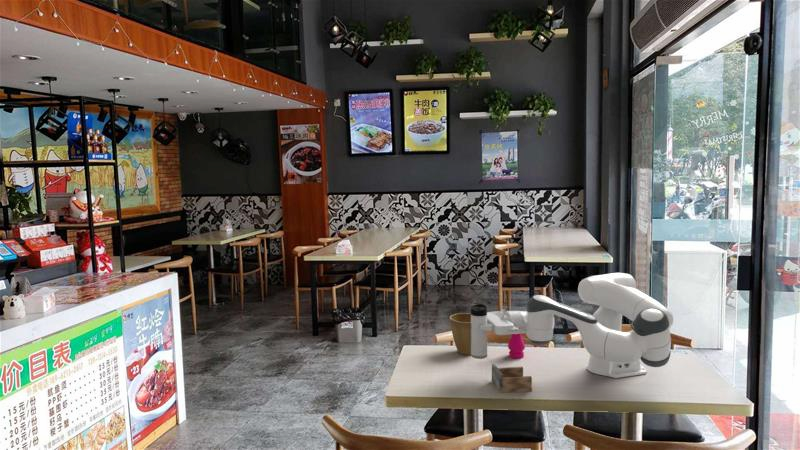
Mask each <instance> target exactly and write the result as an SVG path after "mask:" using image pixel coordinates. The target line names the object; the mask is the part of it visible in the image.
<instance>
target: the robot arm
mask: <svg viewBox="0 0 800 450" xmlns="http://www.w3.org/2000/svg"><path fill="white" fill-rule="evenodd" d="M577 293H578V296H579V298H580V299H581V300H582V302H583V303H585V304H590V305H596V306H599V307H598V308H597V310H596V311H594V312H593V314H590V313H588V312H585V311H583V310H581V309H578V308H575V307H573V306H570V305H567V304H564V303H562V302H559V301H556V300H555V299H553V298H551V297H549V296H547V295H541V294H534V295H532V296H531V297H530V298H529V299H528V300H527V302H526V304H525V305H526V310H524V311H521V310H509V309H501V310H500V311H498V310H497V311H495V310H494V311H487V325H484V324H480V325H479V328H480V330H487V332H488V331H490V332H491V331H492V333H494V334H495V335H496V336H506V335H512V334H521V335H522V334H524V333H525V334H526V338H527V339H528V341H529V342H531V344H533V345H537V346H538V345H539V346H542V345H544V346H545V345H547V344H549V343H550V342H551V341H552V340H553V337H554V336H553V335H554V327H555V324H556V322H555V317H554V316H557V317H559V318H563V319H565V320H567V321H570V322H571V323H573V324H574V326H576V328H577V330H578V332H579V335H580V338H581V341H582V344H583V347H584V349H585V350H586V351H587V353H589V359H588V362H587V366H586V369H587V370H588V371H589V372H590V373H592V374H596V375H598V376H599V375H600V376H605V377H609V378H613V379H619V378H627V377H634V376H638V375H639V376H640V375H646V374H647V368H646V367H645V366H643V365H642V364H641V362H642V363H643V364H644V365H646V366H647V367H652V368H661V367H663V366H665V365H667V364H668V362H669V361H670V357H671V346H672V337H671V331H670V329H671V328H672V326H673V324H674V316H673V313H672V312H671V311H670V310H669V309H668V308H667V307H666V306H665V305H663V304H662V303H661V302H660V301H658V300H656V299H655V298H653V297H651V296H650V295H648V294H647V293H644V292H642V291H641V290H639V289H637V283H636V280H635V278H634V277H633V275H631V274H630V273H627V272H626V273H624V272H612V273H605V274H598V275H597V274H596V275H590V276H588V277H585V278H582V279H581V281H580V282H579V283H578V287H577ZM623 316H624V317H626V318H627V319H629V320H630V321H631V323H630V328H631V330H629V331H622V323H623V322H622V321H623V320H622V319H623Z"/></svg>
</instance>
